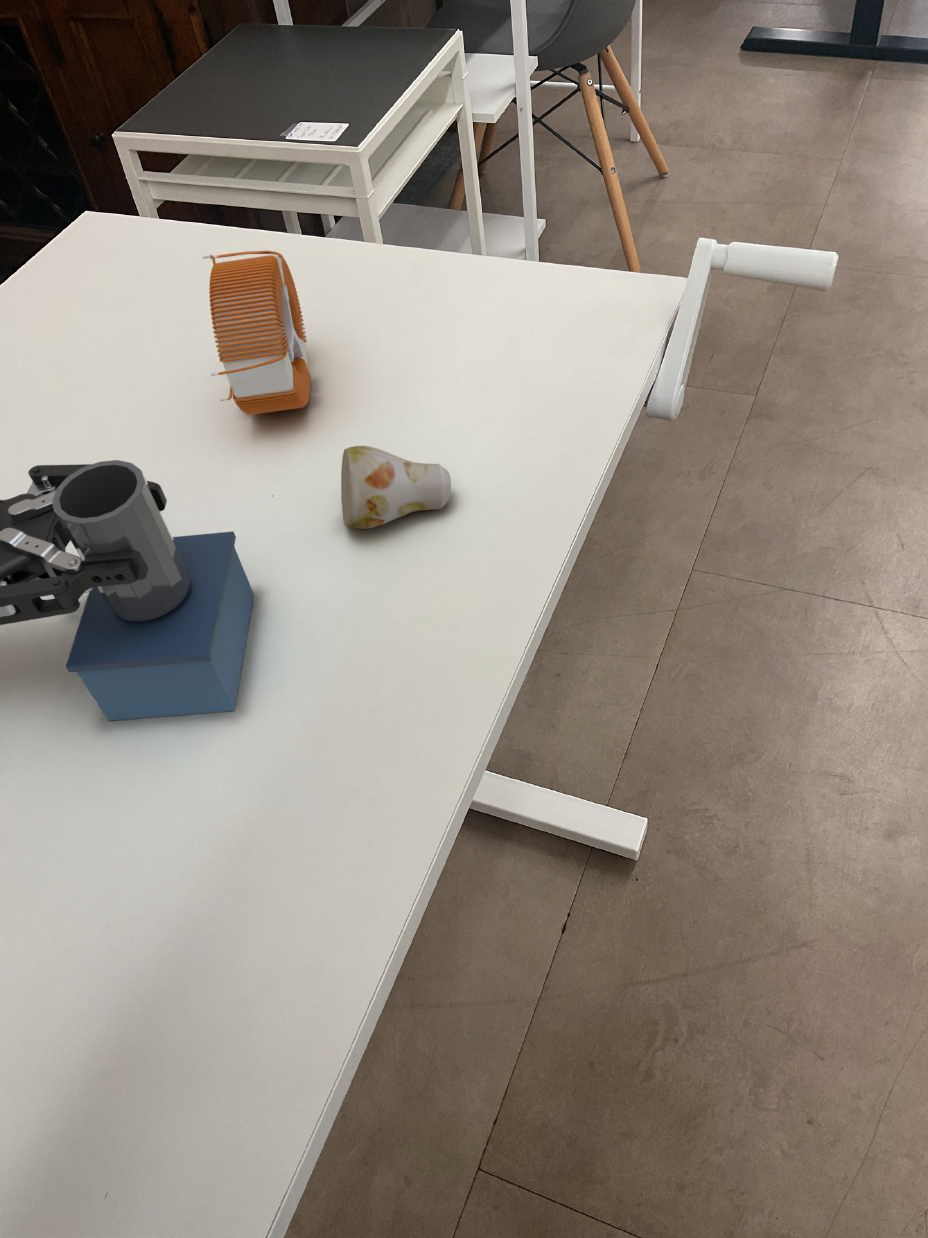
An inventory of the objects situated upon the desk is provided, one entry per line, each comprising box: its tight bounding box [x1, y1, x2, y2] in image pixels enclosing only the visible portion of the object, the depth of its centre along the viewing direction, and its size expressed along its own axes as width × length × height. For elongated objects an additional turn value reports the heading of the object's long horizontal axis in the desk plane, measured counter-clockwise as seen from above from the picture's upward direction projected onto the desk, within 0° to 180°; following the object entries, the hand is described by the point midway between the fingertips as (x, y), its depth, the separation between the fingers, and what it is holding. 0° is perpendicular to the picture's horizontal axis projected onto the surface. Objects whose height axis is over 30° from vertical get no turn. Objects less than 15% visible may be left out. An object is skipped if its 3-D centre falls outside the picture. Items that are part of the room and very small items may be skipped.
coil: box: [202, 250, 311, 416], centre depth 97 cm, size 7×15×15 cm, turn 4°
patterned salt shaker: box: [340, 445, 452, 530], centre depth 87 cm, size 8×10×10 cm
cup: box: [52, 459, 190, 621], centre depth 72 cm, size 6×6×10 cm
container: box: [65, 531, 255, 722], centre depth 79 cm, size 13×11×7 cm
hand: (152, 529), depth 71 cm, fingers closed on cup, 6 cm apart
